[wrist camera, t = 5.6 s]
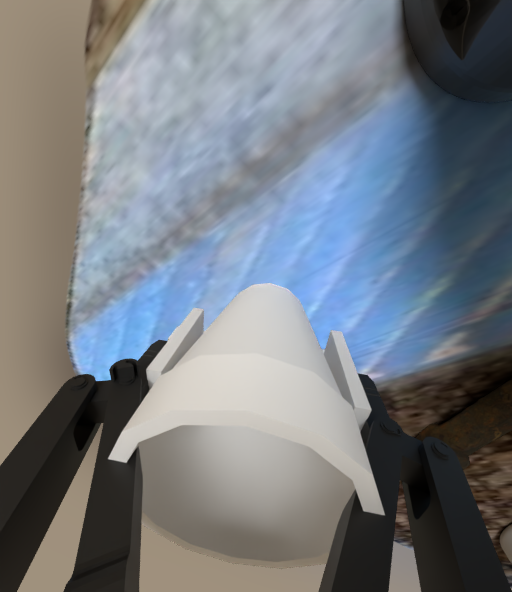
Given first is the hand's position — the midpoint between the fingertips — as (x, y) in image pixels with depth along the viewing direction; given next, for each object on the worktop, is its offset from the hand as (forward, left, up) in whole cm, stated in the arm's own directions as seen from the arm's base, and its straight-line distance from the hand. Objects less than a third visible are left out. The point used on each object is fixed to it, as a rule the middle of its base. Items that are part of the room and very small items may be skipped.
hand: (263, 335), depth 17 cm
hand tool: (+11, +26, -8) cm, 29 cm away
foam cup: (0, 0, -3) cm, 3 cm away
